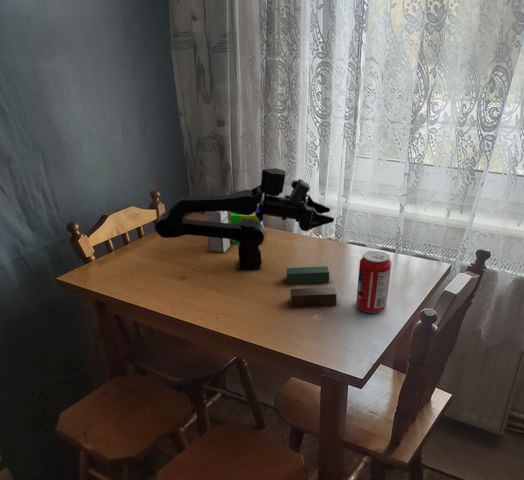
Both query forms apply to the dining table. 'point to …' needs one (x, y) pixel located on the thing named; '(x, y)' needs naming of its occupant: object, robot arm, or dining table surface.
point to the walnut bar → (313, 297)
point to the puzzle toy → (237, 218)
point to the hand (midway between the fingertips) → (331, 214)
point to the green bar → (307, 275)
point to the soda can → (373, 281)
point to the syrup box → (213, 242)
